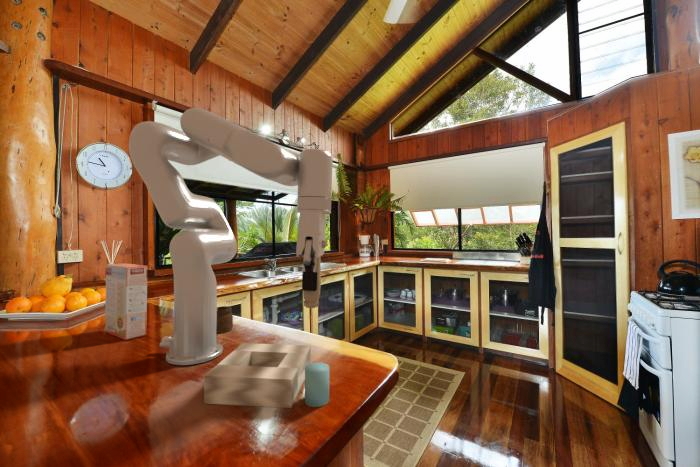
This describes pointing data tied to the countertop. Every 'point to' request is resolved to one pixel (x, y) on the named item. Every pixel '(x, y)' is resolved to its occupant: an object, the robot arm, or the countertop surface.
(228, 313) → the utensil holder
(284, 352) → the socket block
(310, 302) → the handle
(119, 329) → the cracker box
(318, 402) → the short dowel
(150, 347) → the countertop surface
